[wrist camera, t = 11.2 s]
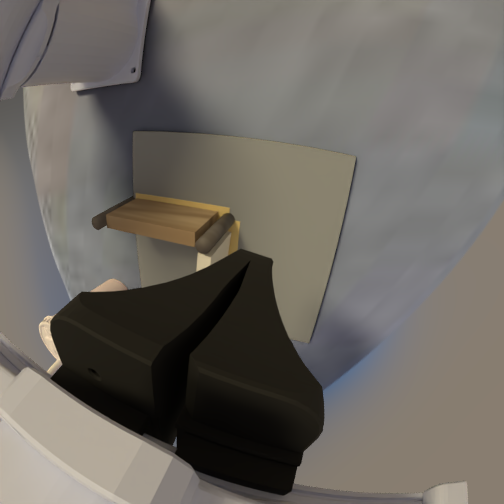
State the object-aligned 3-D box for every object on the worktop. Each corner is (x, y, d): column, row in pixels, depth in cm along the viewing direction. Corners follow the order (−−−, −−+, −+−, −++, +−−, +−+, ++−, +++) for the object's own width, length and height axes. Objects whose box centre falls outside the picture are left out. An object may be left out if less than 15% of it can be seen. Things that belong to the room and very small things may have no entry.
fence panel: (219, 229, 21) (197, 253, 18) (231, 232, 21) (211, 257, 18) (210, 311, 25) (192, 341, 22) (220, 314, 25) (203, 344, 22)
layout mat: (135, 131, 20) (132, 131, 20) (355, 156, 17) (356, 157, 17) (144, 297, 28) (142, 299, 27) (309, 340, 25) (308, 343, 24)
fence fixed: (130, 195, 23) (90, 215, 18) (236, 212, 21) (211, 240, 17) (130, 206, 23) (92, 228, 19) (235, 225, 22) (210, 255, 17)
